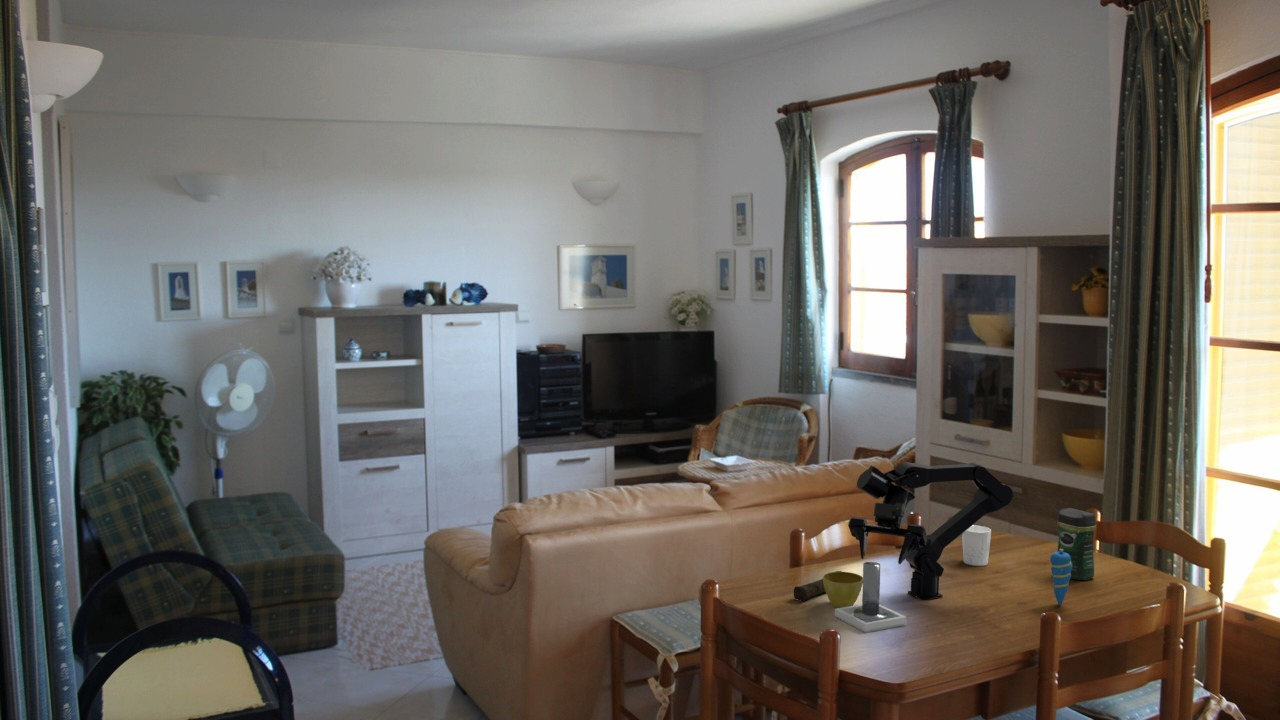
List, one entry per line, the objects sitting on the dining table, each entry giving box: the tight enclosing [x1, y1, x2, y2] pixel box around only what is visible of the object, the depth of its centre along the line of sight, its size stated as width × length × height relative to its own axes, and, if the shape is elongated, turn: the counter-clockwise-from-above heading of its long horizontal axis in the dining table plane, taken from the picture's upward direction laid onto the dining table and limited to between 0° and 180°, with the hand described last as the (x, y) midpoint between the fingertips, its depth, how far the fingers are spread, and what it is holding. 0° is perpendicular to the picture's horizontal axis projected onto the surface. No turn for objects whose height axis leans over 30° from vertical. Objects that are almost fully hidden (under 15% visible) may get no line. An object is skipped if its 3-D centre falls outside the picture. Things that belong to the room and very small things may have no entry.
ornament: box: [1050, 548, 1072, 606], centre depth 261 cm, size 5×5×15 cm
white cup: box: [961, 524, 992, 567], centre depth 297 cm, size 8×8×10 cm
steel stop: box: [853, 561, 888, 623], centre depth 248 cm, size 8×8×14 cm
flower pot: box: [822, 571, 863, 608], centre depth 260 cm, size 10×10×7 cm
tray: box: [834, 603, 907, 634], centre depth 249 cm, size 12×12×2 cm
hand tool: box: [793, 570, 843, 602], centre depth 269 cm, size 19×4×5 cm, turn 130°
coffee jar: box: [1056, 507, 1097, 581], centre depth 285 cm, size 10×8×19 cm
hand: (880, 560), depth 254 cm, fingers open, 9 cm apart
